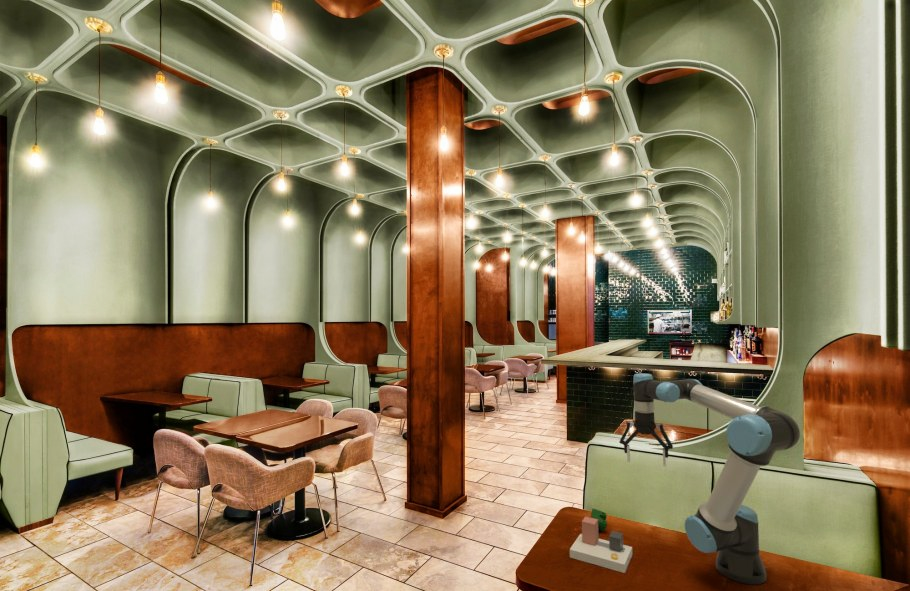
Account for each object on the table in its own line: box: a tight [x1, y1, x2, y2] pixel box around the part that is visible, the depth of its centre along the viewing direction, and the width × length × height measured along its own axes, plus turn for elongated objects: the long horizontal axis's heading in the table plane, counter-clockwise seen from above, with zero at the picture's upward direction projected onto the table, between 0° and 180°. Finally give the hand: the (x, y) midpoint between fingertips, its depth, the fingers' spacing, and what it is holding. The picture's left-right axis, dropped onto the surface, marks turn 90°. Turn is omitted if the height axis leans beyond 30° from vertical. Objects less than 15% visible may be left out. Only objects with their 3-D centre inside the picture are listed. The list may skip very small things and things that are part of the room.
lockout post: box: [581, 515, 600, 545], centre depth 174 cm, size 5×5×8 cm
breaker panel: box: [569, 533, 633, 574], centre depth 169 cm, size 20×14×4 cm
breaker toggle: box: [608, 530, 624, 552], centre depth 169 cm, size 4×5×5 cm
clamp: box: [590, 508, 608, 532], centre depth 192 cm, size 12×6×9 cm, turn 158°
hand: (646, 463), depth 182 cm, fingers open, 13 cm apart
